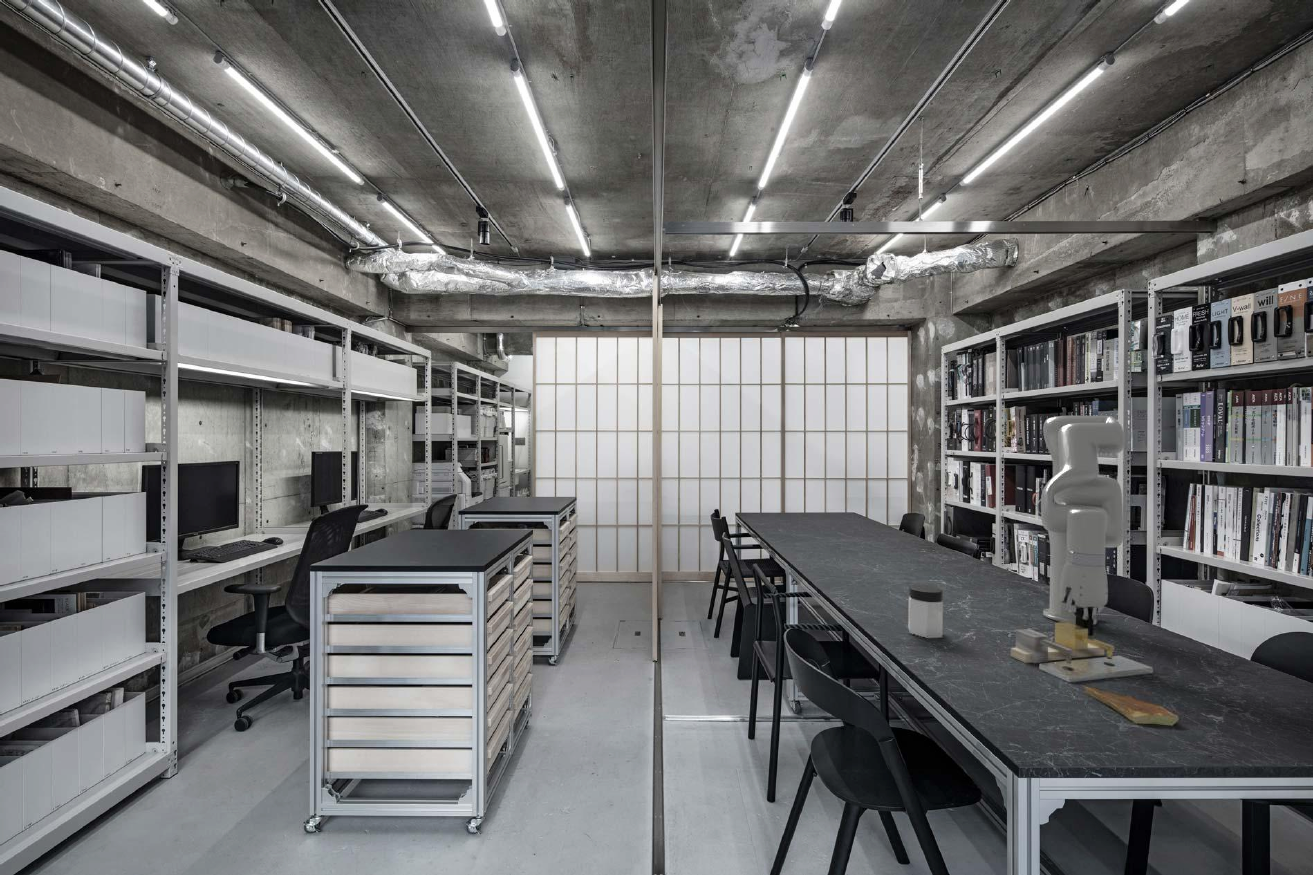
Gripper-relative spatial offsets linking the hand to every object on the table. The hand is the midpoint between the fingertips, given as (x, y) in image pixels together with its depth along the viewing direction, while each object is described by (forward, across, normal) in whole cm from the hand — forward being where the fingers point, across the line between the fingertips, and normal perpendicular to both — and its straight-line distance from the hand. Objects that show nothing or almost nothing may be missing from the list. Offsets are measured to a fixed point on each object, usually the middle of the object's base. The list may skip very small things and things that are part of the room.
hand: (1084, 634), depth 135 cm
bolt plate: (+5, +8, +9) cm, 13 cm away
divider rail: (+5, +8, +3) cm, 10 cm away
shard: (+6, +22, +25) cm, 33 cm away
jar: (+5, +29, -20) cm, 36 cm away
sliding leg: (+3, +4, +3) cm, 6 cm away
